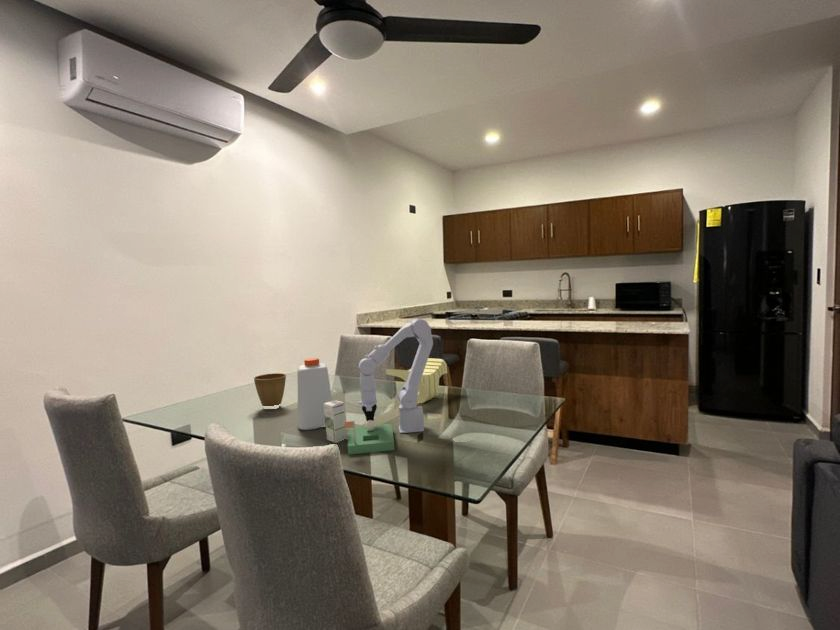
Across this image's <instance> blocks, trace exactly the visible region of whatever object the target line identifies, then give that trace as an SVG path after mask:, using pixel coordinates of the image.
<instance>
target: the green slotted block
mask: <svg viewBox="0 0 840 630" xmlns="http://www.w3.org/2000/svg"><path fill="white" fill-rule="evenodd" d="M344 426H345V428H346V429H349V431H348V438H347V440H348V441H347V454H348V456H349V455H356V454H357V455H358V454H366V453H367V454H368V453H377V452H388V451H395V450H396V449H395V440H394V433H393V427H392V423H385V424H384V423H383V424H376V427H375V429H374V430H372V431H368V430H367V429H366V428H365V425H363V426H356V424H355V420H350V421H349V420H348V421H345V422H344Z"/></svg>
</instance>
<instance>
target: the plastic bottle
mask: <svg viewBox="0 0 840 630" xmlns="http://www.w3.org/2000/svg"><path fill="white" fill-rule="evenodd" d="M303 362H304V364H302V365H299V366H298V367H297V427H298V429H299V430H301V431H312V430H317V428H319V427H321V426H324V425H325V415H324V403H327V402H329V401H333V398H332V391H331V384H330V378H329V377H330V376H329V369H328V366H327V364H325V363H323V362H321V363H320V359H319V358H317V357H312V358H307V359H304V361H303ZM319 429H320V428H319Z"/></svg>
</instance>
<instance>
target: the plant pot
mask: <svg viewBox="0 0 840 630" xmlns="http://www.w3.org/2000/svg"><path fill="white" fill-rule="evenodd" d="M286 378H287V375H286V373H279V372H278V373H273V372H272V373H266V374H260V375H257V376H254V377H253V380H254V385H255V389H256V390H255V391H256V392H257V393H256V394H257V395H258V398H259V400H260V401H259V402H260V404H261V405H262V407H263V406H274V405H279V404H282V402H283V398H284V394H285V386H286Z"/></svg>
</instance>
